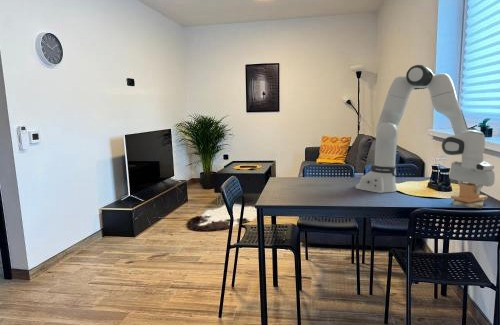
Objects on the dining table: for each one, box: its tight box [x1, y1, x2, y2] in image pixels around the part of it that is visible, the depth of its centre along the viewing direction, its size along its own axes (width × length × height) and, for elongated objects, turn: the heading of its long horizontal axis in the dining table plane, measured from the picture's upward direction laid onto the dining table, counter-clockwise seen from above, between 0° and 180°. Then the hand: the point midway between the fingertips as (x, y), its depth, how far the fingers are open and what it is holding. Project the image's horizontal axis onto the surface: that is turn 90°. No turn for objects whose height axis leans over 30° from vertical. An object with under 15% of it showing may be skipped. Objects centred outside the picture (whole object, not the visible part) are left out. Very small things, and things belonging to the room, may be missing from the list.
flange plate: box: [450, 182, 489, 203], centre depth 170 cm, size 14×9×7 cm, turn 114°
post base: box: [452, 193, 485, 209], centre depth 172 cm, size 12×18×2 cm, turn 144°
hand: (469, 191), depth 169 cm, fingers closed on flange plate, 6 cm apart
